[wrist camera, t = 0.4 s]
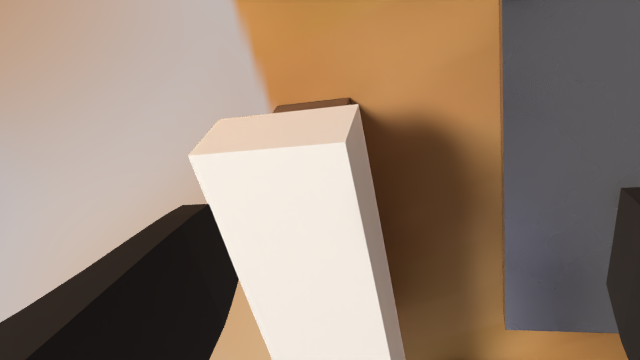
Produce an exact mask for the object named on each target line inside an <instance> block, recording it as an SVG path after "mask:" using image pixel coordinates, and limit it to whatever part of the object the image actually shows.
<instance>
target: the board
mask: <svg viewBox="0 0 640 360" xmlns="http://www.w3.org/2000/svg"><path fill="white" fill-rule="evenodd" d="M188 157H189V160H190V162H191V165H192V167H193V170H194V172H195V174H196V177H197V179H198V182H199V184H200V186H201V189H202V191H203V194H204V196H205V198H206V201H207V203H208V204H209V205H210V207H211V210H212V212H213V215H214V218H215V220H216V223H217V225H218V228H219V230H220V233H221V235H222V238H223V240H224V243H225V245H226V248H227V251H228V253H229V256H230V258H231V261H232V263H233V266H234V268H235V271H236V273H237V276H238V278H239V281H240V283H241V285H242V288H243V290H244V293H245V295H246V297H247V300H248V302H249V305H250V307H251V310H252V312H253V314H254V317H255V319H256V322H257V324H258V326H259V329H260V331H261V334H262V336H263V338H264V341H265V343H266V346H267V348H268V350H269V353H270V355H271V358H272V360H406V359H405V354H404V348H403V343H402V337H401V332H400V326H399V321H398V316H397V310H396V305H395V299H394V294H393V288H392V283H391V278H390V272H389V267H388V261H387V256H386V250H385V245H384V240H383V234H382V229H381V223H380V218H379V213H378V207H377V202H376V196H375V191H374V185H373V180H372V175H371V169H370V164H369V158H368V153H367V147H366V142H365V137H364V131H363V126H362V120H361V115H360V109H359V104H354V105H345V106H336V107H327V108H318V109H309V110H300V111H290V112H281V113H272V114H263V115H254V116H246V117H236V118H227V119H220V120H218V121H217V122H216V124H215V125H214V126H213V127H212V128H211V129H210V131H209V132H208V133H207V134H206V135H205V136H204V137H203V139H202V140H201V141H200V142H199V143H198V145H197V146H196V147H195V148H194V149H193V150H192V152H191V153H190V154H189V155H188Z"/></svg>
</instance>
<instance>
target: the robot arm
mask: <svg viewBox="0 0 640 360" xmlns="http://www.w3.org/2000/svg"><path fill="white" fill-rule="evenodd" d="M238 280H239V279H238V276H237V273H236V271H235V268H234V266H233V263H232V261H231V258H230V256H229V253H228V251H227V248H226V245H225V243H224V240H223V238H222V235H221V233H220V230H219V228H218V225H217V223H216V220H215V218H214V215H213V212H212V210H211V207H210V205H209V204H199V205H182V206H180V207H178V208H177V209H175V210H173V211H171V212H170V213H168V214H166V215H165V216H163V217H161V218H160V219H159V220H157V221H155V222H154V223H153V224H151V225H149V226H148V227H146V228H145V229H143V230H142V231H141V232H139V233H137V234H136V235H134V236H133V237H131V238H130V239H129V240H127V241H126V242H124V243H123V244H121V245H120V246H119V247H117V248H115V249H114V250H112V251H111V252H110V253H108V254H107V255H105V256H104V257H102V258H101V259H100V260H98V261H97V262H95V263H93V264H92V265H91V266H89V267H88V268H86V269H85V270H83V271H82V272H80V273H79V274H77V275H75V276H74V277H72V278H71V279H69V280H68V281H66V282H65V283H63V284H61V285H60V286H58V287H57V288H55V289H54V290H52V291H51V292H49V293H48V294H46V295H45V296H43V297H41V298H40V299H38V300H37V301H35V302H34V303H32V304H30V305H29V306H27V307H26V308H24V309H22V310H21V311H19V312H18V313H16V314H14V315H13V316H11V317H9V318H7V319H6V320H4V321H2V322H1V323H0V360H209V359H210V357H211V354H212V352H213V350H214V348H215V346H216V343H217V341H218V339H219V337H220V335H221V332H222V330H223V328H224V325H225V323H226V320H227V317H228V314H229V311H230V307H231V305H232V301H233V297H234V294H235V290H236V287H237V284H238ZM606 285H607V289H608V293H609V297H610V301H611V305H612V309H613V313H614V317H615V320H616V324H617V327H618V331H619V334H620V338H621V342H622V344H623V347H624V349H625V352H626V354H627V357H628V359H629V360H640V187H629V188H621V191H620V197H619V204H618V210H617V217H616V223H615V230H614V236H613V243H612V249H611V255H610V262H609V268H608V275H607V281H606Z"/></svg>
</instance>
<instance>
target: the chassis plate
mask: <svg viewBox="0 0 640 360" xmlns="http://www.w3.org/2000/svg"><path fill="white" fill-rule="evenodd" d="M499 32H500V102H501V172H502V242H503V311H504V321H505V328H506V330H531V331H563V332H594V333H619V331H618V327H617V324H616V320H615V317H614V313H613V309H612V305H611V301H610V297H609V293H608V289H607V285H606V281H607V275H608V268H609V262H610V255H611V249H612V243H613V236H614V230H615V223H616V217H617V210H618V204H619V197H620V191H621V188H629V187H640V0H499Z"/></svg>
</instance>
